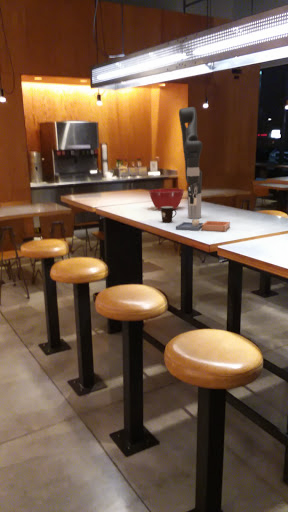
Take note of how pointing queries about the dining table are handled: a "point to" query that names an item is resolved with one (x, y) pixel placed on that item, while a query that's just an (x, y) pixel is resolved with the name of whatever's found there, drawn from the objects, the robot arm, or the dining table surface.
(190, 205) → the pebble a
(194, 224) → the pebble
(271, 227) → the dining table surface
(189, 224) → the parts tray
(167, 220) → the coffee mug
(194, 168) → the robot arm
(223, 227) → the wooden tray
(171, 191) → the mixing bowl
